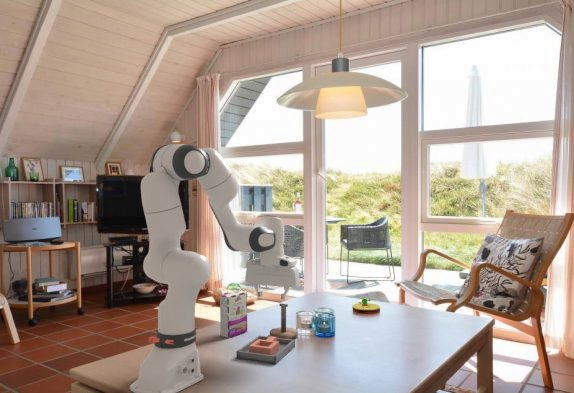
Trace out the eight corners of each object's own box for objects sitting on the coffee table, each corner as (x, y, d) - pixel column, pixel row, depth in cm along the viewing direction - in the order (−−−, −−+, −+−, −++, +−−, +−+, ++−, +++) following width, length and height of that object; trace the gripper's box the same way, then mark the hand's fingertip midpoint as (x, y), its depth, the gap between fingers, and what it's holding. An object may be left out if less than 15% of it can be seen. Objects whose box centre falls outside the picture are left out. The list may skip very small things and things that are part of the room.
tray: (275, 364, 151) (275, 356, 151) (236, 358, 157) (236, 351, 157) (295, 346, 169) (295, 340, 169) (258, 342, 174) (258, 335, 174)
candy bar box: (238, 329, 190) (238, 290, 190) (247, 331, 187) (247, 291, 187) (219, 336, 181) (219, 294, 181) (228, 338, 178) (228, 296, 178)
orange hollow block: (270, 357, 156) (270, 348, 155) (249, 354, 158) (249, 345, 158) (283, 346, 167) (283, 337, 167) (263, 343, 170) (263, 335, 170)
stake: (291, 342, 174) (291, 308, 174) (265, 339, 178) (265, 305, 178) (301, 334, 184) (301, 301, 184) (276, 331, 188) (276, 299, 188)
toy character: (380, 311, 222) (380, 297, 222) (365, 315, 213) (365, 301, 213) (362, 307, 230) (362, 293, 230) (346, 311, 221) (346, 297, 221)
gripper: (242, 259, 168) (242, 296, 168) (295, 262, 160) (294, 302, 160) (249, 257, 174) (249, 293, 173) (300, 260, 166) (300, 298, 166)
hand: (271, 297), depth 167 cm, fingers open, 8 cm apart
